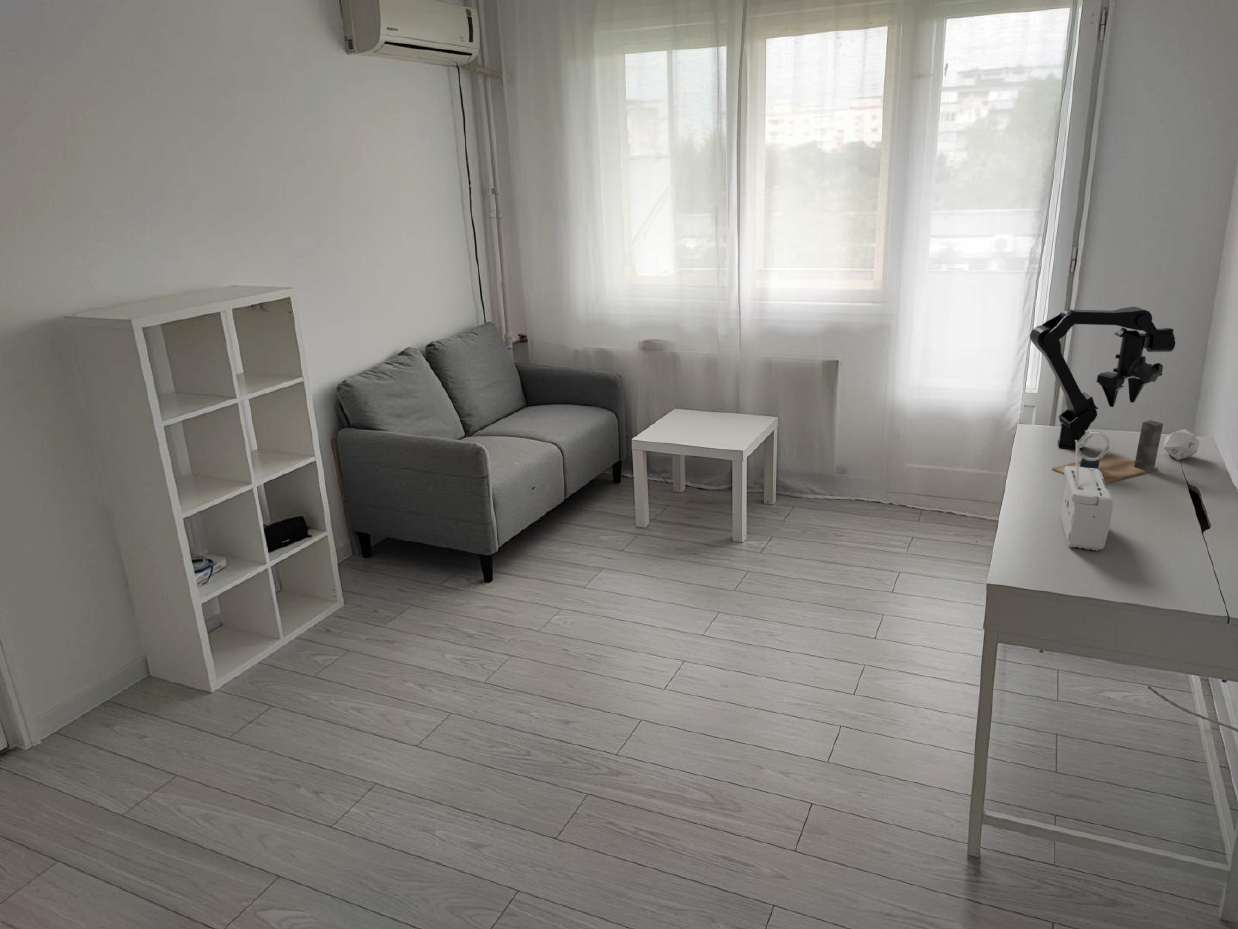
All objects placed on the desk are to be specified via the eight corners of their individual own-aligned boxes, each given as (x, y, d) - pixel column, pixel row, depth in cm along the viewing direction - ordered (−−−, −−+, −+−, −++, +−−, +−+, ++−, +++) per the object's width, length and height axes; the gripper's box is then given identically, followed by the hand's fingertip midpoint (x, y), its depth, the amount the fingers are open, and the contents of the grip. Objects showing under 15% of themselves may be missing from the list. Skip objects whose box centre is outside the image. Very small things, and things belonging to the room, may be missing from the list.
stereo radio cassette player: (1105, 554, 197) (1121, 469, 190) (1064, 549, 199) (1078, 465, 193) (1093, 518, 215) (1107, 440, 208) (1055, 514, 218) (1068, 437, 211)
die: (1157, 460, 255) (1183, 440, 247) (1154, 438, 260) (1178, 418, 253) (1183, 470, 255) (1209, 450, 248) (1179, 448, 261) (1204, 428, 253)
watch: (1073, 465, 249) (1079, 427, 245) (1105, 469, 245) (1112, 431, 241) (1071, 471, 244) (1077, 432, 241) (1103, 476, 241) (1110, 437, 237)
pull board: (1051, 469, 247) (1059, 423, 242) (1110, 455, 258) (1119, 410, 253) (1097, 485, 235) (1106, 437, 231) (1157, 469, 246) (1167, 423, 241)
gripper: (1136, 361, 244) (1126, 416, 250) (1179, 353, 252) (1168, 406, 257) (1099, 353, 254) (1091, 406, 259) (1142, 346, 261) (1132, 397, 267)
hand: (1121, 404), depth 260 cm, fingers open, 9 cm apart
